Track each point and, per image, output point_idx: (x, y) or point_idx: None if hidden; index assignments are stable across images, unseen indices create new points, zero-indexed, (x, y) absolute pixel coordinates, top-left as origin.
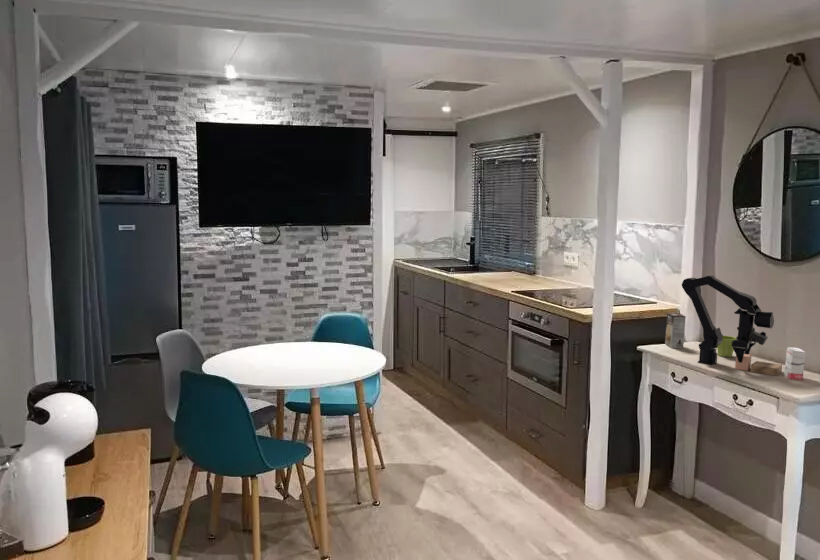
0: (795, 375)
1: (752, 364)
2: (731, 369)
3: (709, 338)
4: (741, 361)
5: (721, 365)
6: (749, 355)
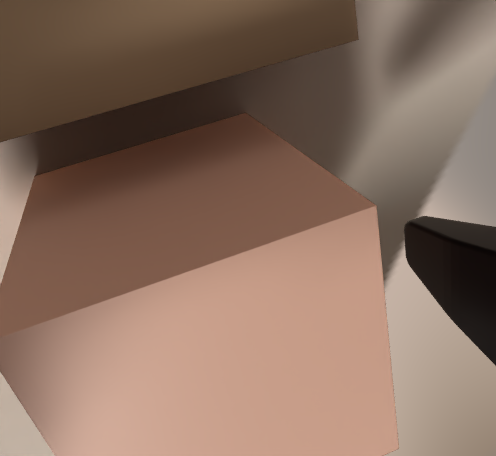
0: None
1: (305, 32)
2: None
3: None
4: (443, 226)
5: None
6: (137, 320)
